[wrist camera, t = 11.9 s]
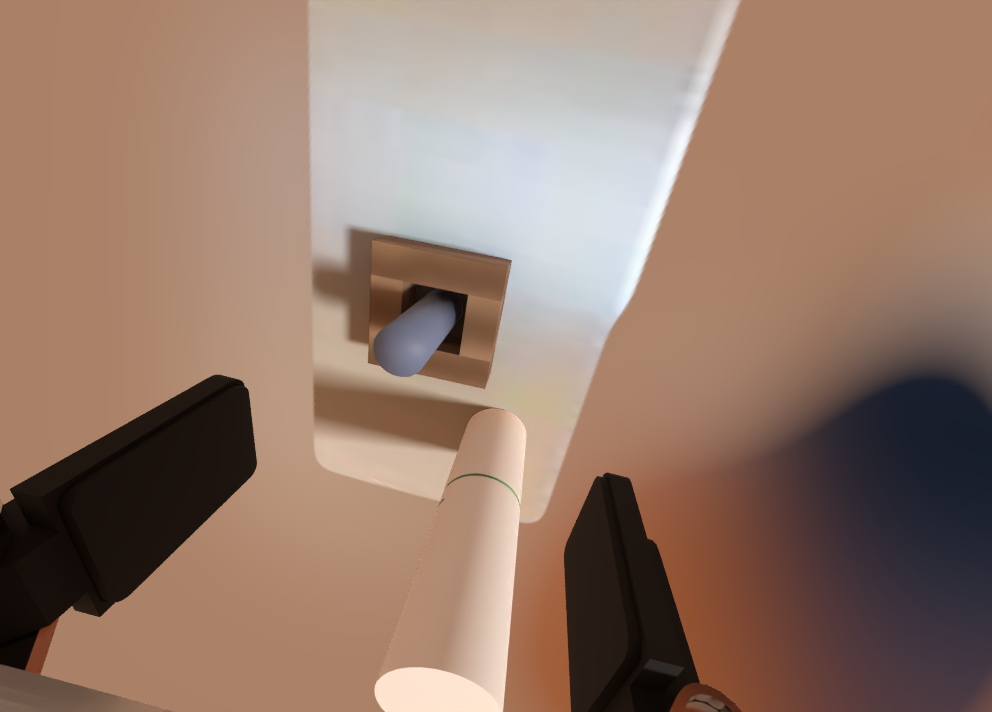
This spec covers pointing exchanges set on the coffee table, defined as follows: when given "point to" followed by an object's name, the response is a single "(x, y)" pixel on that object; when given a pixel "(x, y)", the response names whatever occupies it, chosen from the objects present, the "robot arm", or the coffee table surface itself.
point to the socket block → (446, 269)
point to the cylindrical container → (462, 582)
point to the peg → (417, 333)
